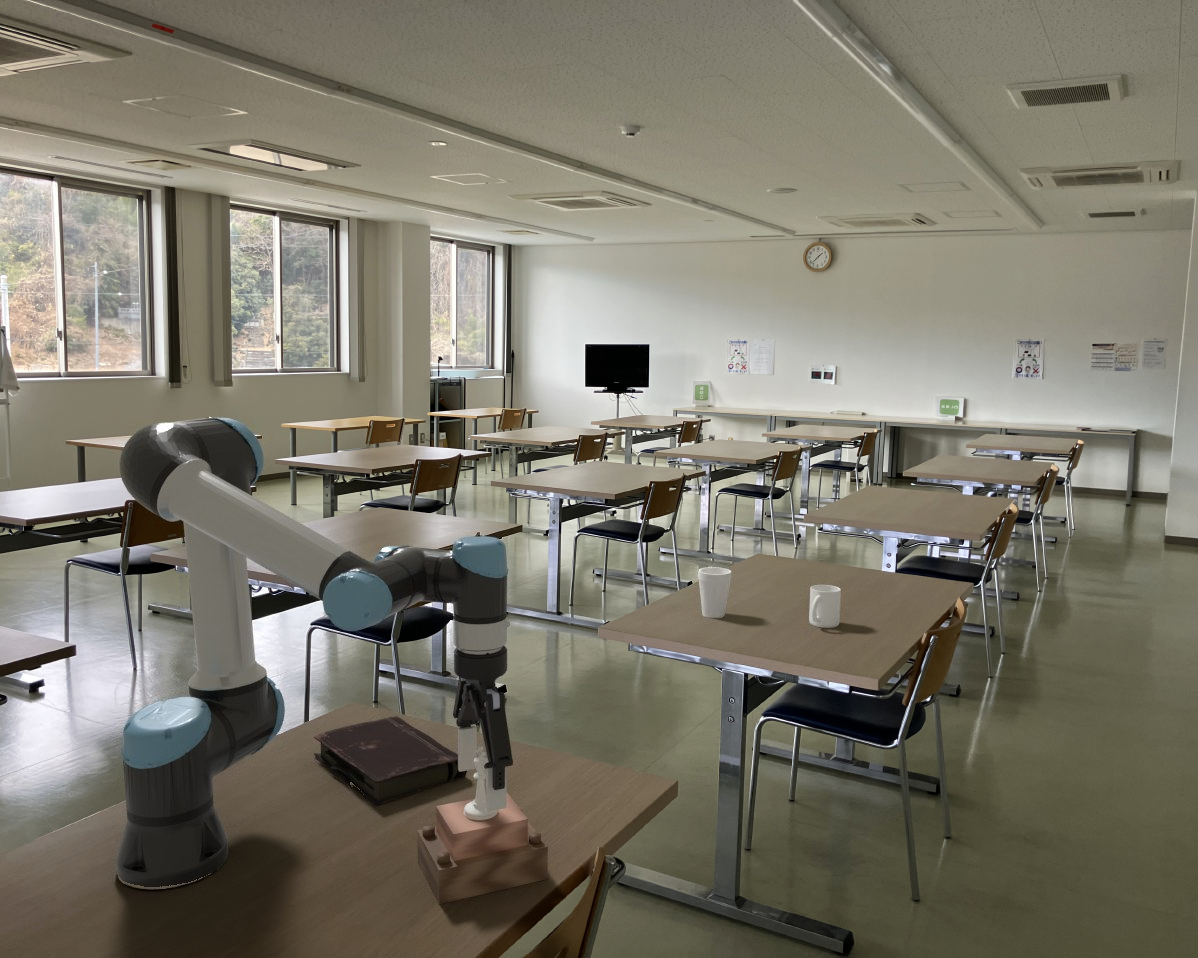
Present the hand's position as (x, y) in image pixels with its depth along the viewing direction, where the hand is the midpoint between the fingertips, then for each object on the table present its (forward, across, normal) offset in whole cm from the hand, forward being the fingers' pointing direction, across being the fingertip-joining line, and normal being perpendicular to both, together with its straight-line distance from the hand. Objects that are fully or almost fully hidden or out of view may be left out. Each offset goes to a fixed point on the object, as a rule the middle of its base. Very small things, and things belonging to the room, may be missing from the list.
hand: (481, 788), depth 139 cm
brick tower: (+13, 0, 0) cm, 13 cm away
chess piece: (+4, 0, 0) cm, 4 cm away
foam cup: (+13, +104, -103) cm, 147 cm away
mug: (+13, +83, -125) cm, 151 cm away
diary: (+13, +40, +5) cm, 42 cm away
